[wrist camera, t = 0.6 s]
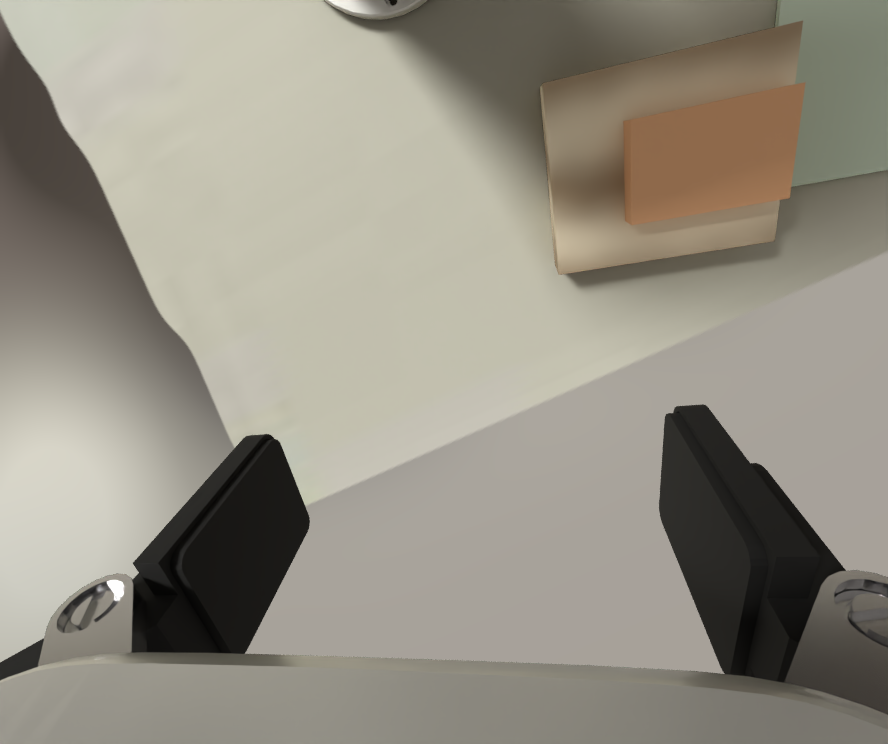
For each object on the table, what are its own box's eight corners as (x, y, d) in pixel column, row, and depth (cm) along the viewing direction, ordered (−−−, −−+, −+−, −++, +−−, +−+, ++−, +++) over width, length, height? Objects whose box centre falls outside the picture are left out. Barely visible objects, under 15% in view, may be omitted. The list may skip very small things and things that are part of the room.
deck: (539, 87, 30) (543, 83, 27) (774, 31, 27) (803, 20, 24) (555, 264, 35) (559, 274, 32) (752, 232, 32) (774, 241, 30)
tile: (623, 120, 28) (630, 120, 26) (787, 85, 26) (805, 82, 24) (625, 220, 30) (631, 225, 29) (773, 194, 28) (789, 198, 27)
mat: (780, -27, 26) (784, -30, 25) (1048, -97, 23) (1056, -101, 23) (757, 191, 31) (759, 192, 31) (973, 153, 29) (979, 153, 28)
